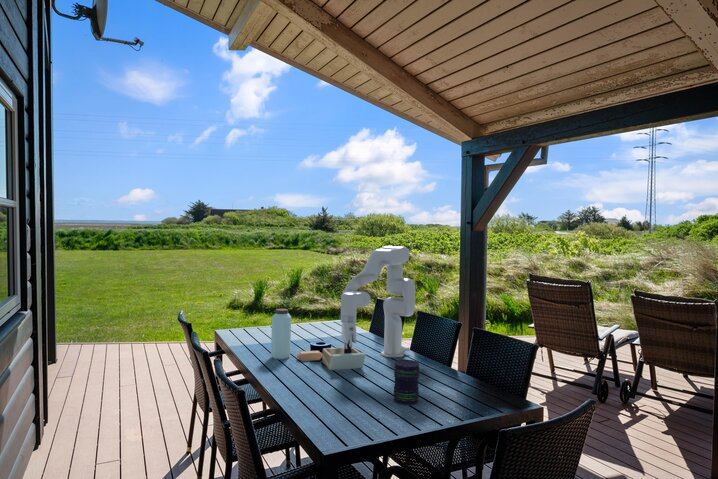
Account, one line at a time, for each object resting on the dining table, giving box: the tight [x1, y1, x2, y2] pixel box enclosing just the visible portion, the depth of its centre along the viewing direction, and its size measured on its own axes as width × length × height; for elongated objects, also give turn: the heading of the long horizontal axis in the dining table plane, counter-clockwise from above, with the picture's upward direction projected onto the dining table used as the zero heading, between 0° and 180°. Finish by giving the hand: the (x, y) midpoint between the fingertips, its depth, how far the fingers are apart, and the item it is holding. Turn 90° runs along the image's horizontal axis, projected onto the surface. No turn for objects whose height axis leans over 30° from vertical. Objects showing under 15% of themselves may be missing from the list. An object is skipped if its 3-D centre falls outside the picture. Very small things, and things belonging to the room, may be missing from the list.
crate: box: [321, 346, 361, 371], centre depth 223 cm, size 16×14×7 cm
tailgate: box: [328, 352, 367, 371], centre depth 213 cm, size 16×1×9 cm, turn 108°
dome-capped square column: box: [296, 350, 323, 362], centre depth 232 cm, size 13×4×4 cm, turn 108°
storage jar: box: [393, 355, 420, 406], centre depth 176 cm, size 10×10×18 cm
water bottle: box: [270, 308, 292, 360], centre depth 234 cm, size 10×10×25 cm
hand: (347, 356), depth 214 cm, fingers closed
